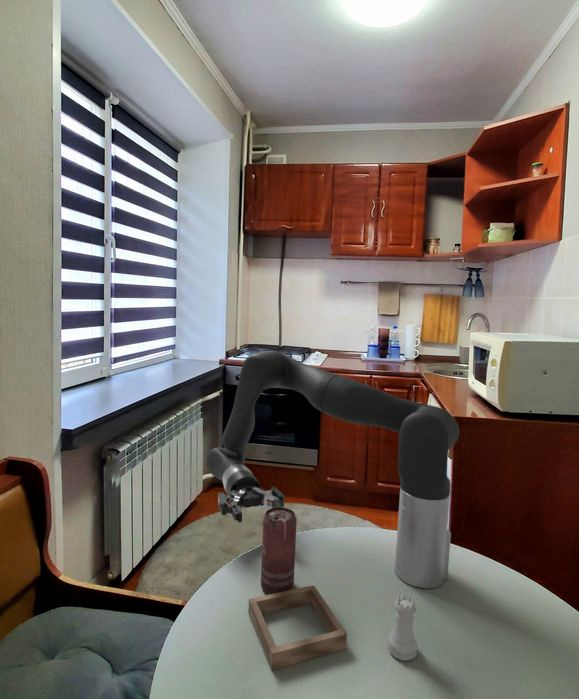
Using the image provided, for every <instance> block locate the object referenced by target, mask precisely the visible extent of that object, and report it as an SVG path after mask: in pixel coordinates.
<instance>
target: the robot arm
mask: <svg viewBox="0 0 579 699" xmlns="http://www.w3.org/2000/svg"><path fill="white" fill-rule="evenodd" d="M237 384H238V385H237V388H236V393H235V398H234V401H233V403H234V404H233V407H232V410H231V414H230V417H229V419H228V422H227V424H226V427H225V429H224V431H223V433H222V434H223V435H222V436H221V444H222V446H223V447H219V446H218V447H213V448H212V449H210V450H209V451H208V453H207V455H206V459H205V460H206V461H205V465H206V468H207V470H208V472H209V473H210V474H211V475H212V476H213V477H215V478H216V479H218V480H220V481H221V482H222V484H223V488H224V491H225V493H227V494H225V493H224V492H218V496H217V500H218V501H217V505H218V509H219V511H220V514H221V515H222V516H227V514H230V516H231V517H232V519H233V520H234V521H237V523H239V524H240V523H242V522H243V512H242V510H243V509H247V508H252V507H254V508H255V507H258V508H261V509H265V510H267V509H272V508H279V507H281V508H285V495H284V494H283V493H282V492H281V491H280V490H279V488H277V487H276V486H271V487H270V490H266V489H264V488H262V486H261V484H260V482H259V480H258V479H257V478H256V477H255V475H254V474H253V472H252V471H251V470H250V469H249V468H248V467H247V466H246V465H245V462H246V461H245V457H246V450H247V447H248V446H247V445H248V443H249V441H250V438H251V437H252V433H253V432H254V429H255V426H256V425H255V424H256V417H255V416H256V415H255V405H256V402H257V401H258V399H259V398H260V395H261V394H262V392H263V391H264V390H268V389H271V388H274V387H283V388H287V389H290V390H293V391H296V392H297V393H300V394H302V396H304V397H305V398H306V399H307V401H308V402H309V403H310V404H311V405H312V406H313V408H315V409H316V410H318V411H320V412H322V413H324V414H326V415H328V416H330V417H333V418H335V419H337V420H341V421H343V422H347V423H352V424H357V425H363V426H371V427H377V428H383V429H386V430H390V431H392V432H395V433H396V434H399V436H398V448H397V449H398V451H397V458H398V461H397V468H398V469H397V470H398V471H397V472H398V475H399V479H400V483H399V484H400V490H399V502H398V505H399V506H398V515H397V516H398V519H397V532H396V548H395V549H396V550H395V561H394V562H395V563H394V572H395V574H396V575H397V577H398V578H399V579H400V580H401V581H403V582H405V583H406V584H408V585H410V586H413V587H416V588H421V589H435V588H438V587H439V586H442V584H443V582H444V580H447V579H448V577H449V576H448V575H449V564H450V553H451V551H450V550H451V538H452V532H451V531H450V530H449V529H448V524H449V523H448V522H449V512H450V497H451V486H452V484H451V480H450V479H449V477H448V459H449V458H448V456H449V450H450V449H452V448H453V447H454V446H455V445H456V443H457V441H458V440H459V438H460V427H459V424H458V422H457V420H456V418H455V417H454V416H453V415H452V414H451V413H450V412H448V411H447V410H445V409H444V408H441V407H438V406H435V405H431V404H426V403H421V402H417V401H413V400H409V399H406V398H405V399H404V398H401V397H399V396H394V395H392V394H390V393H388V392H385V391H383V390H381V389H378V388H376V387H373V386H370V385H368V384H366V383H362V382H360V381H357V380H354V379H352V378H348V377H346V376H343V375H340V374H337V373H334V372H331V371H327V370H324V369H321V368H319V367H318V368H317V367H314V366H313V365H308V364H305V363H303V362H301V361H299V360H297V359H295V358H293V357H291V356H289V355H288V354H287V355H286V354H285V353H283V352H281V351H276V350H265V351H260V352H256V353H253V354H250V355H248V356H247V357H246V358H245V359H244V361H243V363H242V366H241V370H240V374H239V377H238V383H237ZM229 502H230V503H229Z"/></svg>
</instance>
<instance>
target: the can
mask: <svg viewBox="0 0 579 699" xmlns="http://www.w3.org/2000/svg"><path fill="white" fill-rule="evenodd" d="M297 521H298V520H297V517H296V513H295V512H294V511H293V510H292V509H290V508H287V507H283V508H281V507H279V508H272V509H270V508H268V510H267V511H265V514H264V516H263V518H262V536H261V537H262V540H261V542H262V543H261V568H260V569H261V570H260V586H261V588H262V590H263V592H264V593H266V594H267V595H270V594H275V593H280V592H284V591H289V590H293V588H294V584H295V568H296V566H295V565H296V564H295V563H296V562H295V561H296V546H297V545H296V544H297V523H298V522H297Z"/></svg>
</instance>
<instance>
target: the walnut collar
mask: <svg viewBox="0 0 579 699" xmlns="http://www.w3.org/2000/svg"><path fill="white" fill-rule="evenodd" d="M309 604H310V605H311V606H312V608H313V610H314V611H315V612H316V615H317V616H318V617H319V619H320V621H321V623H322V624H323V626H324V627H325V629H326V630H327V633H326V632H325V633H323V634H318V635H315V636H313V637H308V638H304V639H301V640H296V641H293V642H289V643H285V644H282V645H278V646H277V645H276V643H275V641H274V638H273V636H272V634H271V632H270V629H269V627H268V625H267V623H266V620H265V619H264V615H265V614H270V613H275V612H279V611H283V610H287V609H292V608H295V607H300V606H305V605H309ZM248 613H249V614H248ZM247 614H248V617H249V618H251V619H250V620H251V621H250V622H251V623H253V624H252V626H253V629H254V628H255V629H254V630H255V633H256V635H257V638H258V640H259V643H260V646H261V648H262V650H263V654H264V656H265V658H266V661H267V663H268V665H269V668H270V670H271V671H273V670H278V669H281V668H283V667H288V666H291V665H294V664H299V663H302V662H305V661H308V660H312V659H315V658H319V657H323V656H326V655H330V654H334V653H336V652H340V651H344V650H347V637H348V632H346V631H347V630H345V628H344V626H342V624H341V623H340V621H339V619H338V618H337V617H336V615H335V614H334V613H333V611H332V609H331V608H330V607H329V604H328V603H327V602H326V600H325V599H324V598H323V596H322V595H321V593H320V591H318V589H317V588H316V585H314V584H312V585H308V586H304V587H299V588H295V589H293V588H292V589H291V590H289V591H284V592H280V593H275V594H267V595H266V594H265V595H262V596H257V597H253V598H248V609H247Z"/></svg>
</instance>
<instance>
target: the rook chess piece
mask: <svg viewBox="0 0 579 699" xmlns="http://www.w3.org/2000/svg"><path fill="white" fill-rule="evenodd" d="M396 598H397V599H396V601H395V602H394V604H393V606H394V607H393V608H394V609H395V610H396V611H395V612H394V616H395V623H394V628H393V629H391V632H390V633H389V634H388V638H387V644H386V645H387V649H388V651H389V652H390V653H391V655H392V656H393V657H394V658H396V659H397V660H400V661H402V662H403V661H404V662H409V661H411V660H413V659H415V658H416V656H417V655H418V643H417V639H416V638H415V635H414V629H413V622H414V620H415V617H414V614H415V613H417V608H416V607H417V606H416V605H415V601H414V600H412V598H411V597H409V596H408V597H407V598H406V596H405V595H401V597H400V596H397V597H396Z"/></svg>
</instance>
